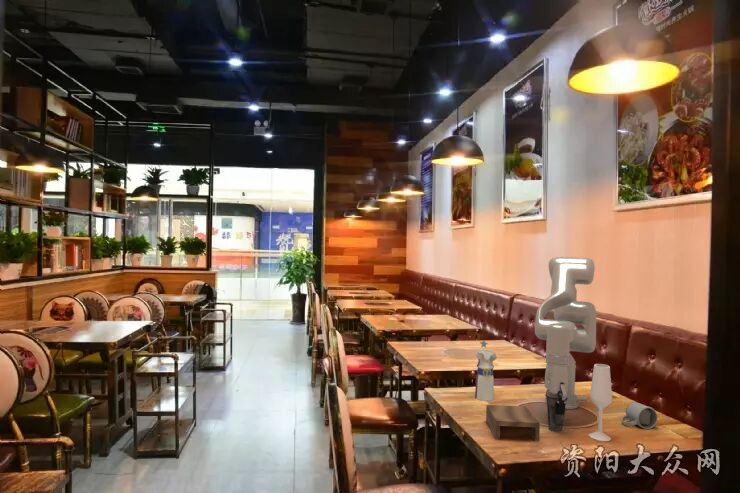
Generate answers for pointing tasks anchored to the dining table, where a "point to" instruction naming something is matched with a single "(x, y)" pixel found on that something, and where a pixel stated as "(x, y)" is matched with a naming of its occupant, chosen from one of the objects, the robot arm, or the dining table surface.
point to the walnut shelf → (511, 419)
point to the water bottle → (485, 374)
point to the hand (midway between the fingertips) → (556, 410)
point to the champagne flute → (601, 396)
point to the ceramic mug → (640, 416)
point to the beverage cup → (553, 419)
